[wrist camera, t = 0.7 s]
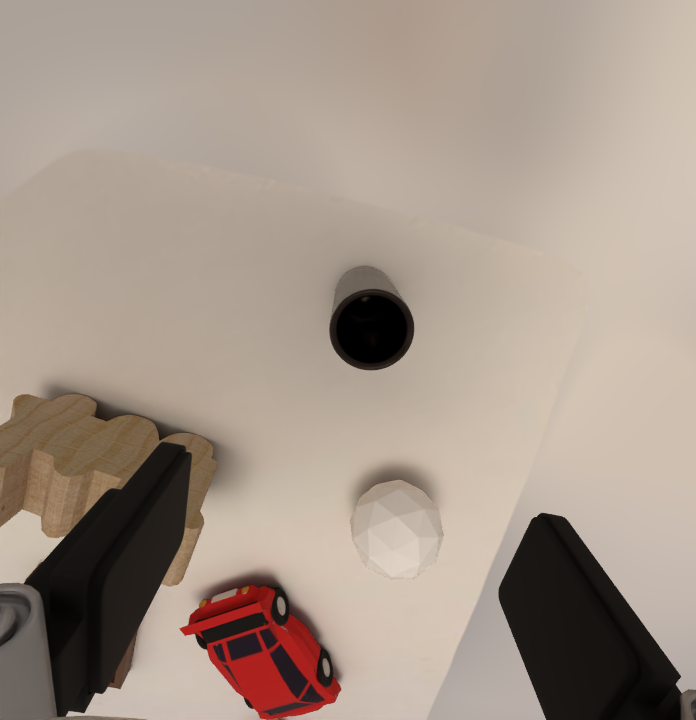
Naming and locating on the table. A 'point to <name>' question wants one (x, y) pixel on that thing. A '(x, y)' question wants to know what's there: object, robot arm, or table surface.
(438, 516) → the geometric ball
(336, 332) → the grey hollow cylinder
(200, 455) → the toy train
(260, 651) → the toy car
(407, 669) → the table surface
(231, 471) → the table surface
